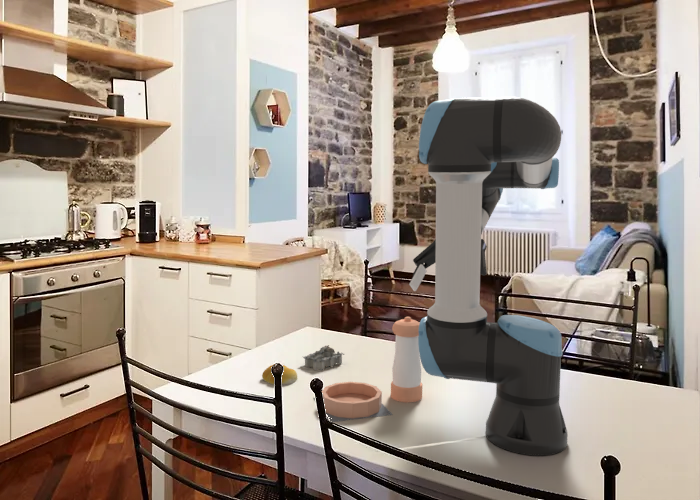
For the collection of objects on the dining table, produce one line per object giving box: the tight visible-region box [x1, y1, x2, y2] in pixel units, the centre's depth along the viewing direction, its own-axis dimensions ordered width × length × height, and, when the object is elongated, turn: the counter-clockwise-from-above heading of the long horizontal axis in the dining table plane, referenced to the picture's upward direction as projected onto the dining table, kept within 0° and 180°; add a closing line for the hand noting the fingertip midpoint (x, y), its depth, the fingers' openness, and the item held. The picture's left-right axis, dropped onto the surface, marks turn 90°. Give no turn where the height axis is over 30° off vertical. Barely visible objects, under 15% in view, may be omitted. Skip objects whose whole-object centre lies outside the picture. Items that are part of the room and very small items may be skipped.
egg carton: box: [302, 345, 345, 371], centre depth 153 cm, size 11×8×4 cm
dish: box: [321, 381, 383, 418], centre depth 122 cm, size 13×13×3 cm
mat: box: [313, 397, 393, 423], centre depth 122 cm, size 14×14×1 cm
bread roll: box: [261, 364, 298, 386], centre depth 139 cm, size 8×9×4 cm
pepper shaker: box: [390, 316, 423, 403], centre depth 127 cm, size 7×7×19 cm
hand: (435, 291), depth 134 cm, fingers open, 13 cm apart
